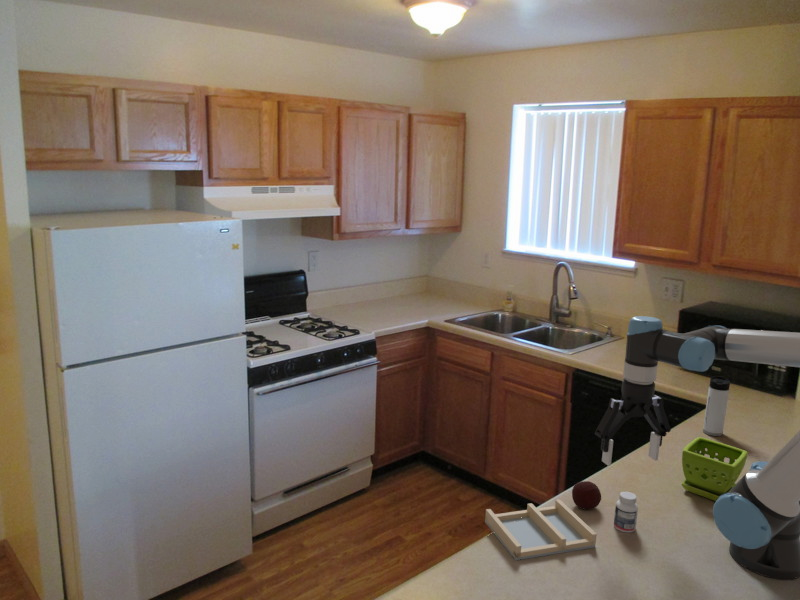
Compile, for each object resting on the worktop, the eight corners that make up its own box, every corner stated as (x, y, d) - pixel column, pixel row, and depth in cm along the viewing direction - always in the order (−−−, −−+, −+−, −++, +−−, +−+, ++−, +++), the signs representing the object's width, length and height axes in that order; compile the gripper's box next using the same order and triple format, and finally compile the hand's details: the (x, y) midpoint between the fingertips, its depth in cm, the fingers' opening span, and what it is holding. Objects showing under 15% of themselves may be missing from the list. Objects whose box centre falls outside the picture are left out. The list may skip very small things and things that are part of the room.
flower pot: (675, 491, 178) (680, 449, 176) (692, 475, 188) (697, 435, 186) (728, 509, 169) (735, 466, 167) (743, 492, 179) (749, 450, 177)
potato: (565, 502, 169) (567, 478, 168) (588, 498, 173) (590, 474, 171) (583, 516, 163) (585, 491, 161) (606, 511, 166) (609, 486, 165)
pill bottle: (618, 519, 162) (621, 487, 160) (638, 527, 159) (642, 494, 157) (610, 527, 158) (614, 495, 156) (631, 535, 155) (635, 502, 153)
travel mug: (723, 431, 222) (731, 377, 218) (721, 438, 216) (729, 382, 212) (704, 427, 225) (711, 374, 221) (701, 433, 220) (709, 379, 216)
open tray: (595, 547, 150) (596, 533, 149) (515, 560, 143) (516, 546, 143) (558, 511, 165) (559, 499, 164) (485, 522, 159) (485, 509, 158)
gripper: (671, 372, 160) (662, 449, 164) (585, 377, 153) (577, 458, 157) (692, 381, 153) (682, 462, 157) (603, 387, 146) (594, 472, 150)
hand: (629, 460), depth 157 cm, fingers open, 13 cm apart
